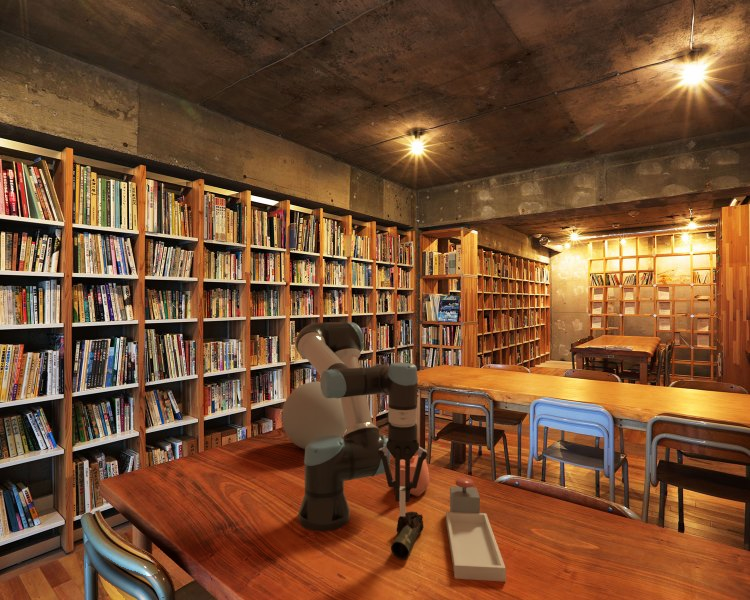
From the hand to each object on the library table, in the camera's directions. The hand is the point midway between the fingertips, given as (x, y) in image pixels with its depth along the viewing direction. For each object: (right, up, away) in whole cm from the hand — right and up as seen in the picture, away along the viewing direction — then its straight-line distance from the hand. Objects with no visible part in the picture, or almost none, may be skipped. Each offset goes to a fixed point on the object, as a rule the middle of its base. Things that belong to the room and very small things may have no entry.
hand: (402, 513), depth 109 cm
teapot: (+5, -11, +35) cm, 37 cm away
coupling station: (+19, -10, +4) cm, 22 cm away
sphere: (-34, -12, +80) cm, 87 cm away
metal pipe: (0, -13, -1) cm, 13 cm away
